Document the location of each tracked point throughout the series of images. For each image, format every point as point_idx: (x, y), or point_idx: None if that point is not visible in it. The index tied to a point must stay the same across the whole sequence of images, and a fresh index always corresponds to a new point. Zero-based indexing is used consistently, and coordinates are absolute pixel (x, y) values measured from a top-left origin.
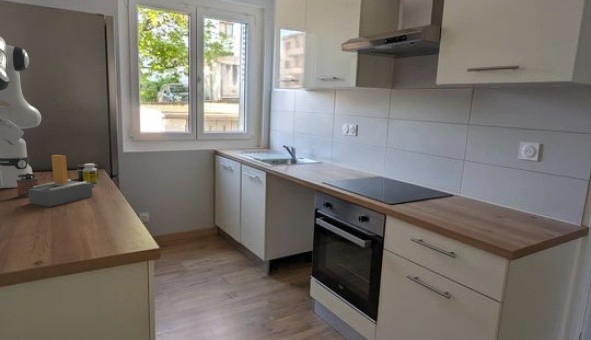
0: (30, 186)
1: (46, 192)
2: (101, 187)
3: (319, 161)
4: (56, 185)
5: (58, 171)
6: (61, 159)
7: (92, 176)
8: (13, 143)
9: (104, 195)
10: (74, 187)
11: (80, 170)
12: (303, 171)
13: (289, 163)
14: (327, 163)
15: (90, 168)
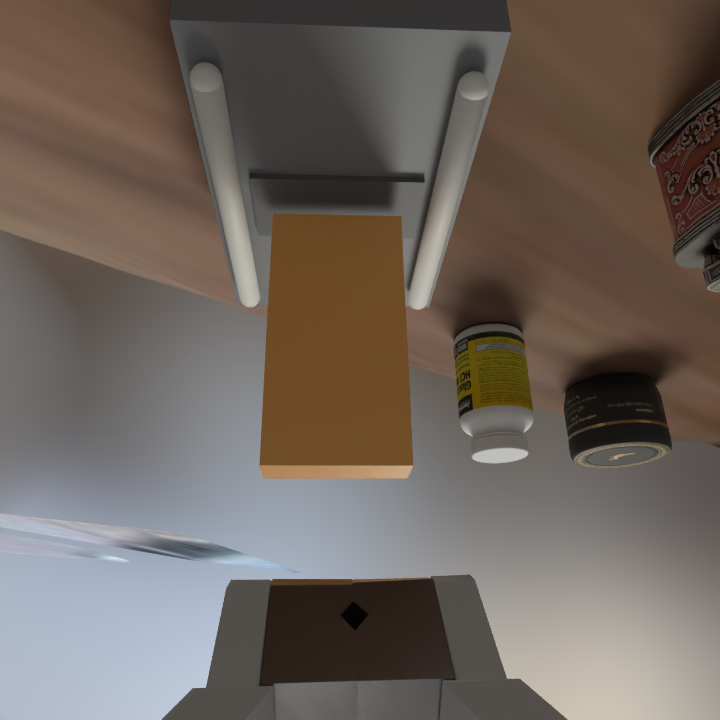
0: (705, 172)
1: (201, 18)
2: None
3: (103, 559)
4: (373, 200)
5: (326, 315)
6: (263, 432)
7: (462, 384)
8: (219, 647)
9: (205, 255)
10: (218, 218)
11: (632, 420)
12: (9, 527)
13: (143, 547)
14: (63, 556)
15: (478, 429)
